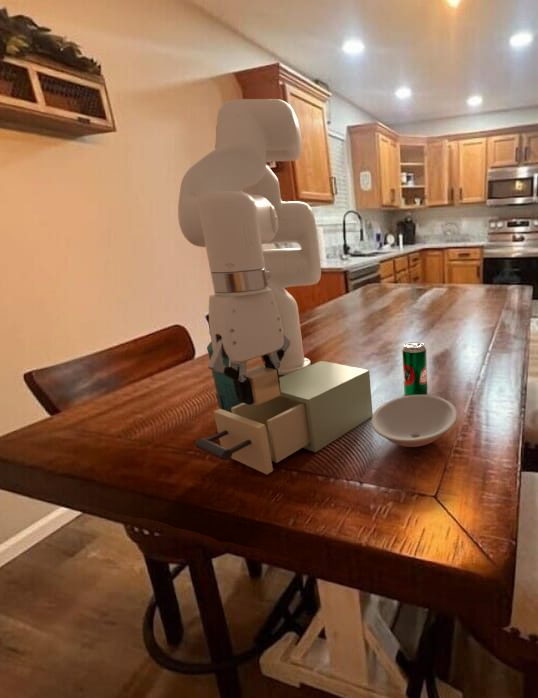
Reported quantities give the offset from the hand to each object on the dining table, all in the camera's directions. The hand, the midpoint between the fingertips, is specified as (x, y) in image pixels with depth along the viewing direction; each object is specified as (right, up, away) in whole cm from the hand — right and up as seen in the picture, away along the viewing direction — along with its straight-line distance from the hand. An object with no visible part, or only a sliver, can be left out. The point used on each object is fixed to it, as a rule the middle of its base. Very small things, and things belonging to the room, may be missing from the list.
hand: (259, 395), depth 65 cm
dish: (+25, -8, +6) cm, 27 cm away
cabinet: (+7, -7, +13) cm, 16 cm away
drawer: (0, -9, +3) cm, 10 cm away
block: (0, 0, 0) cm, 0 cm away
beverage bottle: (-11, -6, +18) cm, 22 cm away
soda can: (+26, -2, +24) cm, 35 cm away
